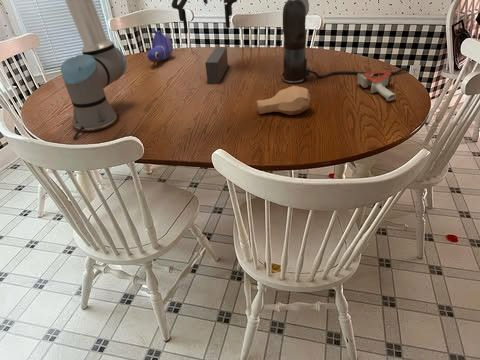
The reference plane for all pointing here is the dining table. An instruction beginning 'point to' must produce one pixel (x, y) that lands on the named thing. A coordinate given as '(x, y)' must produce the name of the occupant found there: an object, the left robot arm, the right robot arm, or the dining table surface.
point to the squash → (286, 101)
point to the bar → (216, 65)
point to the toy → (160, 47)
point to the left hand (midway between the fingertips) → (207, 29)
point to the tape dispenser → (377, 83)
